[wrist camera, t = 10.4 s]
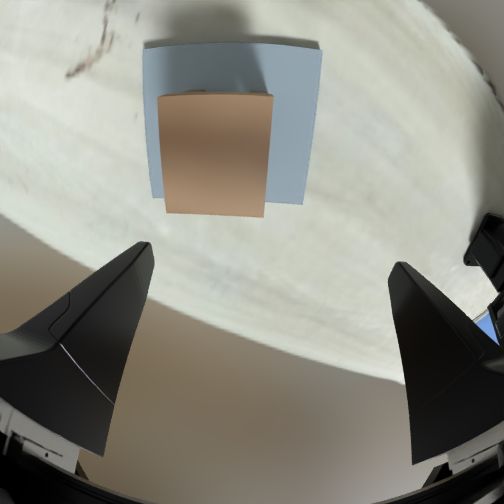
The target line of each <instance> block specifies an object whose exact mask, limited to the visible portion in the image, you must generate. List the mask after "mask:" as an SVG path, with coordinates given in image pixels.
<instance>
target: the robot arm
mask: <svg viewBox="0 0 504 504" xmlns="http://www.w3.org/2000/svg"><path fill="white" fill-rule="evenodd" d="M464 264H465V265H466V266H480V267H481V268H482V270H483V271H484V273H485V274H486V276H487V277H488V278H489V280H490V281H491V283H492V284H493V286H494V287H495V289H496V291H497V292H498V294H499V295H498V296H497V297H496V298H495V300H494V301H493V302H492V303H490V304H489V305H488V307H487V308H488V311H489V315H490V318H491V321H492V324H493V327H494V331H495V334H496V337H497V341H498V343H499V345H498V344H497V343H496V342H495V341H494V340H493V339H492V338H490V337H489V336H488V335H487V334H486V333H485V332H484V331H483V330H482V329H481V328H480V327H479V326H477V325H476V324H475V323H474V322H473V321H472V320H471V319H470V318H469V317H468V316H466V314H465V313H464V312H463V311H462V310H461V309H460V308H459V307H457V306H456V305H455V304H454V303H453V302H452V301H451V300H450V299H449V298H448V297H447V296H445V295H444V294H443V293H442V292H441V291H440V290H439V289H438V288H436V287H435V286H434V285H433V284H432V283H431V282H430V281H428V280H427V279H426V278H425V277H424V276H422V275H421V274H420V273H419V272H418V271H417V270H415V269H414V268H413V267H412V266H410V265H409V264H408V263H407V262H400V261H398V262H396V263H395V265H394V267H393V269H392V271H391V273H390V275H389V278H388V287H389V293H390V300H391V307H392V314H393V320H394V325H395V329H396V334H397V339H398V344H399V349H400V354H401V360H402V366H403V372H404V378H405V385H406V392H407V400H408V409H409V415H410V416H409V419H410V433H411V450H412V465H416V464H419V463H422V462H425V461H428V460H430V459H433V458H436V457H438V456H441V455H444V454H446V453H447V457H448V462H446V463H444V464H441V465H439V466H437V467H434V468H433V470H432V472H431V474H430V475H429V477H428V479H427V480H426V482H425V483H424V485H423V487H422V488H421V489H419V490H416V491H413V492H410V493H407V494H405V495H401V496H398V497H395V498H391V499H388V500H384V501H381V502H377V503H373V504H504V217H502V216H499V215H495V214H492V213H487V214H486V216H485V218H484V220H483V222H482V225H481V227H480V229H479V231H478V233H477V235H476V237H475V239H474V241H473V243H472V245H471V247H470V249H469V251H468V253H467V255H466V257H465V259H464ZM153 269H154V256H153V251H152V246H151V243H149V242H142V241H140V242H138V243H136V244H135V245H133V246H132V247H130V248H129V249H127V250H126V251H124V252H123V253H121V254H120V255H118V256H117V257H116V258H114V259H113V260H111V261H110V262H108V263H107V264H106V265H104V266H103V267H101V268H100V269H99V270H97V271H96V272H94V273H93V274H92V275H90V276H89V277H87V278H86V279H85V280H83V281H82V282H81V283H79V284H78V285H77V286H75V287H74V288H73V289H71V291H69V292H67V293H66V294H65V295H63V296H62V297H61V298H60V299H58V300H57V301H55V302H54V303H53V304H51V305H50V306H48V307H47V308H46V309H44V310H43V311H41V312H40V313H38V314H37V315H36V316H34V317H32V318H31V319H30V320H28V321H27V322H25V323H24V324H22V325H21V326H20V327H18V328H17V329H15V330H13V331H11V332H8V333H3V334H0V504H157V503H153V502H149V501H146V500H142V499H138V498H135V497H132V496H129V495H126V494H123V493H120V492H117V491H114V490H111V489H108V488H106V487H103V486H100V485H98V484H96V483H93V482H91V481H89V479H88V478H87V476H86V474H85V472H84V471H83V469H82V467H81V465H80V463H79V462H78V460H77V459H78V455H79V451H80V448H81V449H83V450H85V451H88V452H91V453H93V454H95V455H98V456H101V457H103V455H104V452H105V446H106V441H107V436H108V432H109V427H110V422H111V418H112V414H113V410H114V404H115V401H116V397H117V393H118V389H119V386H120V382H121V378H122V374H123V371H124V367H125V364H126V361H127V357H128V354H129V351H130V347H131V344H132V341H133V338H134V335H135V331H136V329H137V326H138V323H139V320H140V317H141V314H142V311H143V307H144V305H145V302H146V298H147V294H148V289H149V285H150V281H151V277H152V273H153Z"/></svg>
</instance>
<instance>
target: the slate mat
mask: <svg viewBox="0 0 504 504" xmlns="http://www.w3.org/2000/svg"><path fill="white" fill-rule="evenodd" d="M322 51H323V50H317V49H311V48H304V47H296V46H288V45H277V44H264V43H242V42H218V43H195V44H182V45H172V46H164V47H156V48H149V49H143V95H144V115H145V130H146V142H147V153H148V163H149V172H150V180H151V188H152V195H153V198H165V196H164V187H163V178H162V167H161V155H160V142H159V126H158V104H157V97H159V96H162V95H165V94H171V93H182V92H185V91H188V90H205V92H247V93H250V91H251V90H255V91H268V94H272V95H273V97H274V99H273V111H272V124H271V136H270V148H269V160H268V172H267V183H266V195H265V202H272V203H286V204H298V205H303V199H304V193H305V187H306V180H307V174H308V167H309V160H310V153H311V146H312V139H313V131H314V124H315V116H316V108H317V99H318V91H319V81H320V72H321V62H322Z"/></svg>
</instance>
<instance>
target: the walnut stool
mask: <svg viewBox="0 0 504 504" xmlns="http://www.w3.org/2000/svg"><path fill="white" fill-rule="evenodd" d="M273 99H274V97H273V95H272V94H268V91H255V90H251V91H250V93H247V92H205V90H188V91H185V92H182V93H171V94H165V95H162V96H159V97H157V104H158V126H159V142H160V155H161V167H162V178H163V187H164V196H165V205H166V213H179V214H204V215H226V216H244V217H261V218H263V217H264V206H265V195H266V183H267V172H268V160H269V148H270V136H271V124H272V111H273Z"/></svg>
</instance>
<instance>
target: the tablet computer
mask: <svg viewBox="0 0 504 504" xmlns="http://www.w3.org/2000/svg"><path fill="white" fill-rule="evenodd" d="M473 322H474V323H475V324H476V325H477V326H479V327H480V328H481V329H482V330H483V331H484V332H485V333H486V334H487V335H488V336H489V337H490V338H492V339H493V340H494V341H495V342H496V343H497V344H498V341H497V337H496V334H495V331H494V327H493V324H492V321H491V318H490V315H489V311H488V309H487V310H486V311H485V312H483V313H482V314H481V315H479V316H478V317H477V318H475V319H474V320H473Z"/></svg>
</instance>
